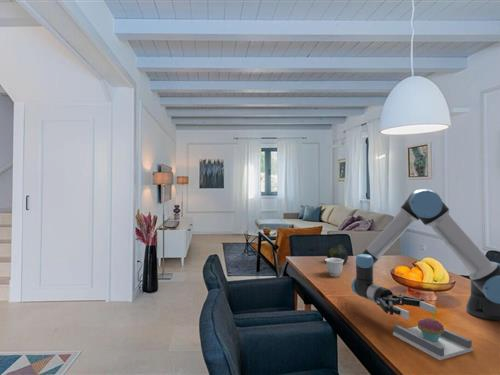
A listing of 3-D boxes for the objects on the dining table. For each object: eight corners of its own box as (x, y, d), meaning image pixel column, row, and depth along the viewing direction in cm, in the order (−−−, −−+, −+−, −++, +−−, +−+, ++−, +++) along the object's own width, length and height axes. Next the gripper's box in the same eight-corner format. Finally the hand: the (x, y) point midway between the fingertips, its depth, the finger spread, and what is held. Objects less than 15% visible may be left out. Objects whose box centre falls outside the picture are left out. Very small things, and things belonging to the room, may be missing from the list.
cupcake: (435, 333, 125) (435, 302, 125) (449, 344, 117) (449, 310, 116) (413, 334, 125) (412, 302, 125) (426, 345, 116) (425, 311, 116)
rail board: (393, 334, 127) (392, 325, 127) (423, 327, 133) (423, 318, 133) (439, 360, 108) (439, 349, 108) (472, 350, 114) (472, 340, 114)
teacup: (341, 271, 219) (341, 256, 219) (346, 278, 204) (345, 262, 204) (323, 271, 220) (323, 256, 220) (326, 277, 205) (326, 262, 205)
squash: (321, 254, 248) (329, 241, 239) (336, 253, 254) (345, 240, 245) (329, 270, 238) (339, 257, 229) (345, 268, 245) (355, 256, 236)
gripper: (401, 299, 148) (445, 317, 128) (357, 308, 139) (396, 328, 119) (401, 283, 148) (445, 298, 128) (357, 290, 139) (396, 307, 119)
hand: (422, 312), depth 123 cm, fingers open, 13 cm apart
